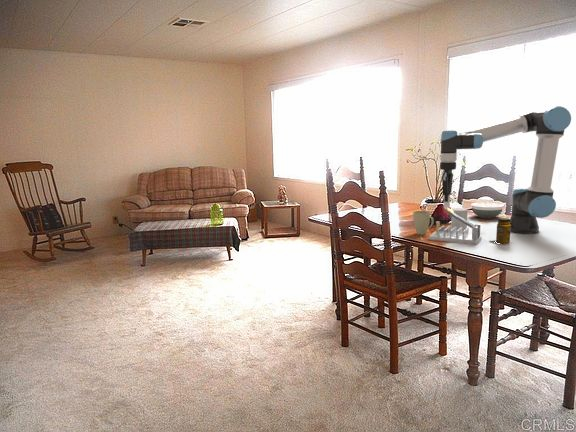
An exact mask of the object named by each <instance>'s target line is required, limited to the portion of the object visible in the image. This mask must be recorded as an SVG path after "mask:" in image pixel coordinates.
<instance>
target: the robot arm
mask: <svg viewBox="0 0 576 432" xmlns="http://www.w3.org/2000/svg"><path fill="white" fill-rule="evenodd" d="M571 121H572V115H571V112H570V111H569V110H568V108H566V107H564V106H561V105H560V106H558V105H553V106H546V107H545V106H544V107H540V108H537V109H534V110H532V111H529V112H526V113H522V114H520V115H518V117H516V118H512V119H509V120H506V121H505V120H504V121H500V122H498V123H494V124H491V125H486V126H483V127H480V128H476V129H473V130H470V131H464V132H462V133H461V132H460V133H458V130H455V129H454V130H452V129H451V130H443V131H442V132H441V137H440V154H439V158H440V163H439V166H440V167H439V168H440V170H443V173H442V176H441V182H442V196H443V207H442V208H443V209H445V208H449V209H451V208H450V206H451V205H450V203H451V195H453V193H452V190H453V179H454V174H453V170H454V171H455V170H456V169H457V159H458V158H457V156H458V155H457V154H458V153H457V152H458V150H477V149H481V148H482V147H483V144H484V143H485V142H488V141H492V140H496V139H500V138H505V137H508V136H512V135H516V134H519V133H523V134H526V133H530V132H531V133H532V132H535V136H536V137H537V138H538V140H537V146H536V152H535V158H534V159H535V160H534V164H533V171H532V178H531V183H530V186H528V187H527V188H514V189H513V191H512V194H511V195H512V196H511V212H510V213H511V215H510V217H509V219H510V225H511V230H510V233H511V232H512V233H518V234H536V233H539V231H540V227H539V223H538V218H539V219H544V218H547V217H549V216H550V215H552V214H553V213H554V212H555V210H556V207H557V204H556V203H557V202H556V200H555V199H554V190H553V189H552V181H553V176H554V170H555V165H556V159H557V152H558V147H559V141H560V138H562V137H563V136H564V134H565V130H566V129H567V128H568V127H569V126H570V124H571Z"/></svg>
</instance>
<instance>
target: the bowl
mask: <svg viewBox="0 0 576 432" xmlns="http://www.w3.org/2000/svg"><path fill="white" fill-rule="evenodd" d="M470 205H471V210H472V212H473V213H474V215H476V216H477V217H478V218H480V219H489V220H491V219H494V218H496V217H498V216H500V215H501V214H502V212H503V208H504V207H505V205H504V204H503V203H500V202H493V201H492V202H490V201H482V202H481V201H479V202H478V201H477V202H472V203H471V204H470Z"/></svg>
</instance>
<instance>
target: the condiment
mask: <svg viewBox="0 0 576 432" xmlns="http://www.w3.org/2000/svg"><path fill="white" fill-rule="evenodd" d="M510 230H511V225H510V218H507V217H500V218H498V219H497V224H496V234H495V236H496V237H495V238H496V239H495V240H488V242H490V243H492V244H494V245H498V246H502V245H512V243H513V242H510V241H511V231H510ZM495 241H496V242H497V243H500V244H497V243H496V242H495ZM494 242H495V243H494ZM509 243H511V244H509Z"/></svg>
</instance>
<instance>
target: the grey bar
mask: <svg viewBox="0 0 576 432" xmlns="http://www.w3.org/2000/svg"><path fill="white" fill-rule="evenodd" d="M442 212H444V213H447V214H448V215H449V216H450V217H451V216H452V217H454V218H456V219H457V220H459V221H461V222H462V223H464V224H466V225H467V227H468V228H470V229H472V227H478V230H479V229H480V230H481V226H480V227H479V226H475V224H473V223H472V222H470V221H469V220H468V219H467V220H465V219H463V218H462V217H460V216H458V215H457V214H455V213H454V211H453V210H452V208H443V210H442Z"/></svg>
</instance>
